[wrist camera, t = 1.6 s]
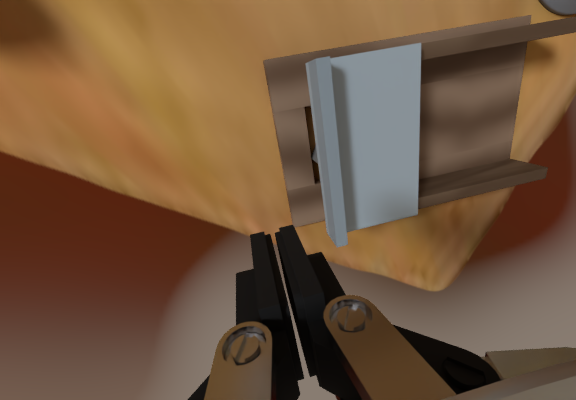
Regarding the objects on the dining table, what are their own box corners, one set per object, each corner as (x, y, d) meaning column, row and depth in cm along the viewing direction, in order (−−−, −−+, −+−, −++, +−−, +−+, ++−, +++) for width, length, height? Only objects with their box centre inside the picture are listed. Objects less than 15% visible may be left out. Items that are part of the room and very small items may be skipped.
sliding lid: (305, 63, 20) (315, 58, 18) (414, 44, 21) (439, 37, 19) (326, 232, 26) (336, 247, 24) (412, 211, 27) (431, 223, 24)
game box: (263, 61, 25) (270, 52, 20) (521, 17, 28) (582, 0, 23) (292, 223, 31) (303, 247, 26) (499, 174, 34) (543, 187, 29)
